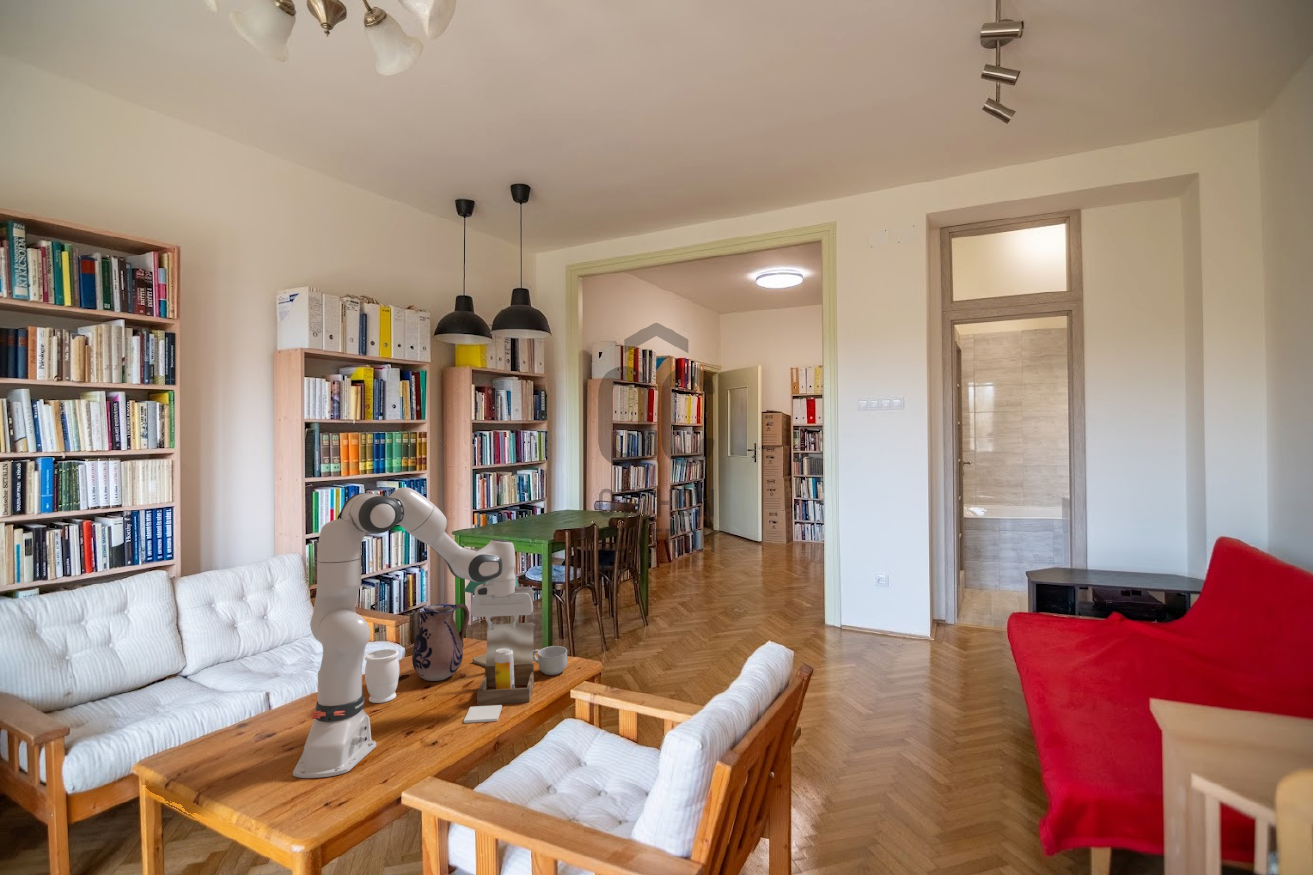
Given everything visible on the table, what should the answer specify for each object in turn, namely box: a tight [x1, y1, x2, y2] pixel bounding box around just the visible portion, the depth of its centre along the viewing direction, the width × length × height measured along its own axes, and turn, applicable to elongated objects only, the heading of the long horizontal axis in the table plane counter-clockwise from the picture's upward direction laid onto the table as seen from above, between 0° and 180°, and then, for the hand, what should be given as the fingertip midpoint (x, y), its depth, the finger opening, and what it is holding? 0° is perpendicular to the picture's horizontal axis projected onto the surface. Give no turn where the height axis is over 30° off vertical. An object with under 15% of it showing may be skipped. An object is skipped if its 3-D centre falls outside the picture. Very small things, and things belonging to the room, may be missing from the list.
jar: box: [364, 648, 400, 704], centre depth 210 cm, size 11×10×15 cm
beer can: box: [495, 648, 516, 689], centre depth 212 cm, size 6×6×15 cm
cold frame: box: [476, 622, 535, 706], centre depth 215 cm, size 21×17×20 cm
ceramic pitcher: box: [411, 603, 470, 682], centre depth 231 cm, size 18×21×25 cm
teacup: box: [533, 645, 568, 676], centre depth 233 cm, size 14×11×8 cm
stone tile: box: [463, 704, 503, 724], centre depth 196 cm, size 10×10×1 cm
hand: (502, 628), depth 211 cm, fingers open, 6 cm apart
